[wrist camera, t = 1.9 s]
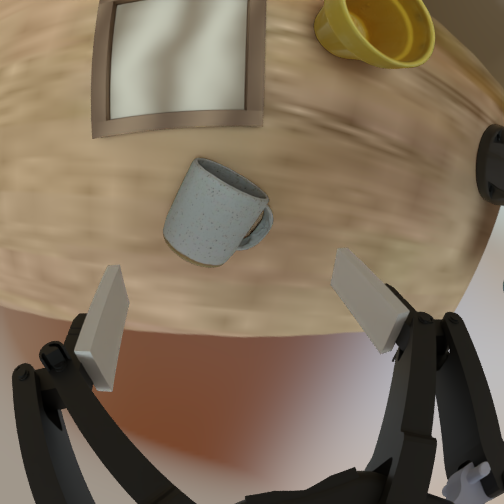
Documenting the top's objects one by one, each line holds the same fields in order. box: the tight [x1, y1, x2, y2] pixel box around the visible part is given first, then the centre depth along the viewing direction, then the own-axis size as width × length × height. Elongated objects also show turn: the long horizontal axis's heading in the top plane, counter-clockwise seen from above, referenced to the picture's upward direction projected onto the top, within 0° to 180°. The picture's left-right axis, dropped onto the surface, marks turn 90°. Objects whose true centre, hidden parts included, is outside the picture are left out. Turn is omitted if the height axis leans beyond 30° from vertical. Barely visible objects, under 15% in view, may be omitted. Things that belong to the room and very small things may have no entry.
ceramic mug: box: [163, 158, 273, 268], centre depth 26 cm, size 11×8×8 cm
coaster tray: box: [91, 0, 266, 139], centre depth 19 cm, size 16×16×2 cm
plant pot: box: [314, 0, 435, 69], centre depth 17 cm, size 10×10×10 cm
